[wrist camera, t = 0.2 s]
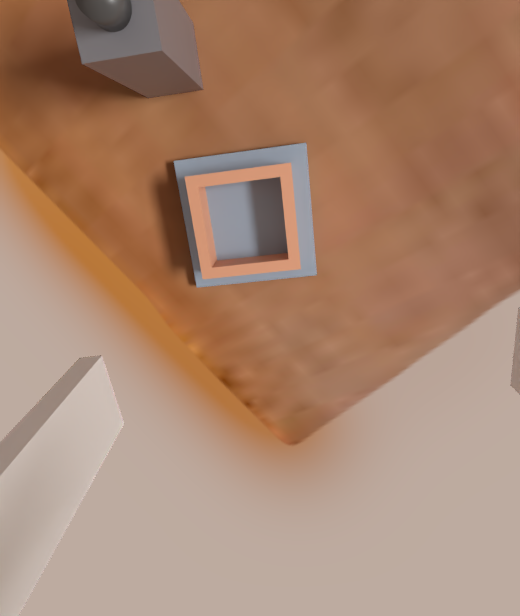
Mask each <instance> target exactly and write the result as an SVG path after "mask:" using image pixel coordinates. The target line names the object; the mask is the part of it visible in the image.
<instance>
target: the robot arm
mask: <svg viewBox="0 0 520 616" xmlns="http://www.w3.org/2000/svg"><path fill="white" fill-rule="evenodd" d="M511 386H512V387H513V388H514V389H515V390H516V391H517V392H518V393H519V394H520V307H519V308H518V318H517V327H516V337H515V347H514V356H513V365H512V375H511ZM123 425H124V421H123V418H122V416H121V413H120V409H119V406H118V403H117V400H116V397H115V394H114V391H113V388H112V385H111V382H110V378H109V375H108V372H107V369H106V366H105V363H104V360H103V357H102V356H101V355H100V356H92V357H83V358H79V359H78V360H77V361H76V362H75V363H74V365H73V366H72V367H71V368H70V369H69V370H68V371H67V372H66V373H65V374H64V375H63V376H62V378H60V379H59V381H58V382H57V383H56V384H55V385H54V386H53V387H52V388H51V389H50V390H49V391H48V392H47V393H46V394H45V395H44V396H43V397H42V399H41V400H40V401H39V402H38V403H37V404H36V405H35V406H34V407H33V408H32V409H31V410H30V411H29V412H28V413H27V415H26V416H25V417H24V418H23V419H22V420H21V421H20V422H19V423H18V424H17V425H16V426H15V427H14V428H13V429H12V430H11V431H10V433H9V434H8V435H7V436H6V437H5V438H4V439H3V440H2V441H1V442H0V616H19V615H20V613H21V611H22V609H23V607H24V605H25V604H26V602H27V600H28V598H29V596H30V595H31V593H32V591H33V589H34V587H35V586H36V584H37V582H38V580H39V578H40V576H41V575H42V572H43V571H44V569H45V567H46V566H47V564H48V562H49V560H50V558H51V556H52V554H53V552H54V551H55V549H56V547H57V545H58V544H59V542H60V540H61V538H62V536H63V535H64V533H65V531H66V529H67V527H68V525H69V524H70V522H71V520H72V518H73V516H74V514H75V513H76V511H77V509H78V507H79V505H80V504H81V502H82V500H83V498H84V496H85V494H86V493H87V491H88V489H89V487H90V485H91V484H92V482H93V480H94V478H95V476H96V474H97V473H98V470H99V469H100V467H101V465H102V463H103V462H104V460H105V458H106V456H107V454H108V452H109V451H110V449H111V447H112V445H113V443H114V442H115V440H116V438H117V436H118V434H119V432H120V431H121V429H122V427H123Z"/></svg>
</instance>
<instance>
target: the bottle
mask: <svg viewBox="0 0 520 616" xmlns="http://www.w3.org/2000/svg"><path fill="white" fill-rule="evenodd" d="M67 2H68V6H69V11H70V15H71V19H72V23H73V27H74V32H75V36H76V40H77V44H78V49H79V53H80V57H81V61H82V64H83V65H85V66H87V67H89V68H91V69H93V70H95V71H97V72H99V73H101V74H103V75H105V76H106V77H108V78H110V79H112V80H114V81H116V82H118V83H120V84H122V85H124V86H126V87H128V88H130V89H132V90H134V91H136V92H138V93H139V94H141V95H143V96H145V97H147V98H152V97H159V96H165V95H172V94H178V93H184V92H191V91H197V90H203V85H202V78H201V72H200V65H199V59H198V52H197V45H196V39H195V32H194V26H193V22H192V20H191V19H190V17H189V16H188V14H187V13H186V11H185V9H184V8H183V6H182V5H181V3H180V2H179V0H67Z"/></svg>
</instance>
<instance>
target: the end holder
mask: <svg viewBox="0 0 520 616" xmlns="http://www.w3.org/2000/svg"><path fill="white" fill-rule="evenodd" d="M174 166H175V172H176V177H177V182H178V188H179V193H180V199H181V204H182V210H183V215H184V221H185V226H186V232H187V237H188V242H189V248H190V253H191V259H192V264H193V270H194V275H195V281H196V286H197V287H207V286H216V285H226V284H236V283H245V282H255V281H265V280H275V279H284V278H294V277H304V276H313V275H317V272H316V259H315V247H314V234H313V221H312V209H311V196H310V184H309V171H308V159H307V146H306V143H301V144H293V145H286V146H279V147H272V148H264V149H257V150H250V151H243V152H236V153H228V154H221V155H214V156H207V157H199V158H192V159H185V160H178V161H174Z"/></svg>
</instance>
